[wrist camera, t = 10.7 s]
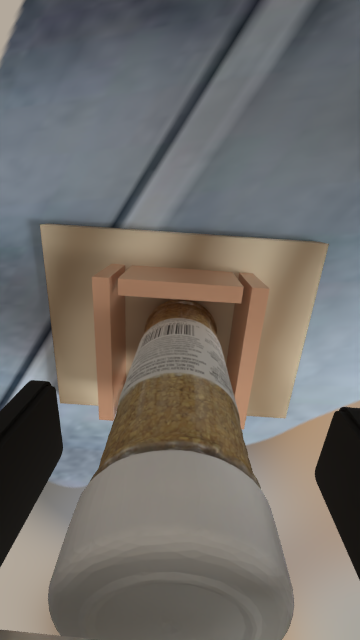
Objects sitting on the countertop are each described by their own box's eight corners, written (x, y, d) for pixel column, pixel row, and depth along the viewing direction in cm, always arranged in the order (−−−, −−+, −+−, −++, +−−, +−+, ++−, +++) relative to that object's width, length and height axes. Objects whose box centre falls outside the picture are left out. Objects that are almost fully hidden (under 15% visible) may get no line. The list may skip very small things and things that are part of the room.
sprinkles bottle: (145, 361, 18) (54, 688, 6) (144, 294, 17) (16, 541, 4) (215, 364, 18) (279, 698, 6) (221, 297, 17) (330, 556, 4)
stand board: (319, 241, 16) (328, 243, 15) (280, 407, 21) (285, 418, 20) (50, 223, 16) (40, 224, 15) (66, 392, 21) (60, 403, 20)
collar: (252, 273, 16) (269, 288, 13) (234, 392, 19) (243, 429, 16) (111, 263, 16) (91, 276, 13) (114, 384, 19) (99, 419, 16)
